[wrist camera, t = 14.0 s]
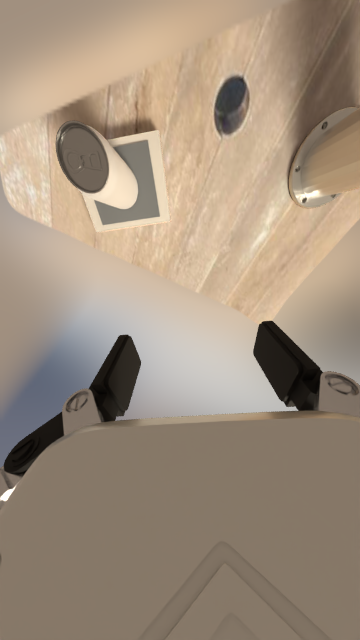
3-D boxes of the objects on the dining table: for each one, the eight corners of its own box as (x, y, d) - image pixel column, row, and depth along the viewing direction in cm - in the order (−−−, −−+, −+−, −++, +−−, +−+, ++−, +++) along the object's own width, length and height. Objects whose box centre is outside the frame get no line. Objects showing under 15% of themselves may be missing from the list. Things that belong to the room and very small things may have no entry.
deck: (161, 139, 25) (158, 128, 22) (171, 221, 31) (170, 220, 29) (76, 156, 26) (63, 147, 23) (102, 231, 32) (95, 232, 30)
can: (97, 162, 24) (38, 113, 14) (135, 161, 24) (102, 112, 14) (108, 209, 28) (67, 198, 18) (141, 209, 28) (118, 197, 18)
